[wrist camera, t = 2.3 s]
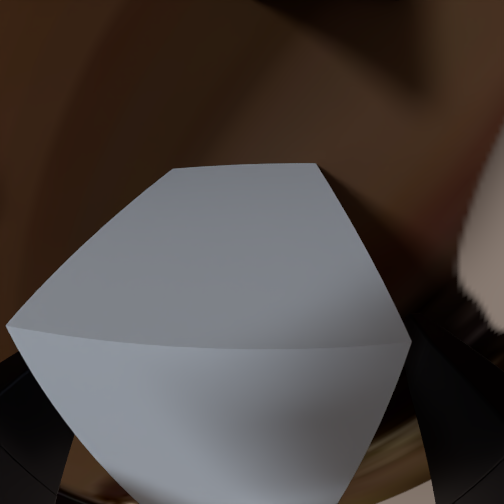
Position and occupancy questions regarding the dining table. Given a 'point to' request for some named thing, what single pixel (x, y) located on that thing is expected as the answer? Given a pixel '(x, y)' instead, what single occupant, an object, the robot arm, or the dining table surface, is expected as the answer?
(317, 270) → the pale grey upright box
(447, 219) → the dining table surface
